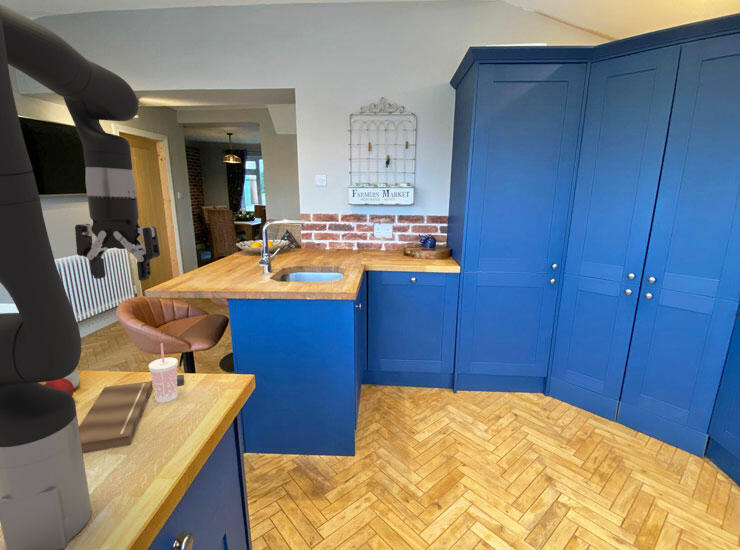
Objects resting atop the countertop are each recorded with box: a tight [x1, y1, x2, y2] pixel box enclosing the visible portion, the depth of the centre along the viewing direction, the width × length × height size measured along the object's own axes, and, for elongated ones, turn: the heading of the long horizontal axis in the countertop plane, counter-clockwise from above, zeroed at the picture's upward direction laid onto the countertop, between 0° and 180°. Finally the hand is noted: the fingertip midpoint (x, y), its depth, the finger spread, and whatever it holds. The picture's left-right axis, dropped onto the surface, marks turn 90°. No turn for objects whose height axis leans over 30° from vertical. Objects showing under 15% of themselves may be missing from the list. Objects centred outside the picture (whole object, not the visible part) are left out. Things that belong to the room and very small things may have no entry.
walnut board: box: [79, 374, 185, 453], centre depth 81 cm, size 24×17×2 cm
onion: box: [43, 378, 75, 396], centre depth 81 cm, size 6×6×8 cm
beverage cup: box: [148, 342, 179, 403], centre depth 86 cm, size 6×6×14 cm
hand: (122, 278), depth 70 cm, fingers open, 8 cm apart
